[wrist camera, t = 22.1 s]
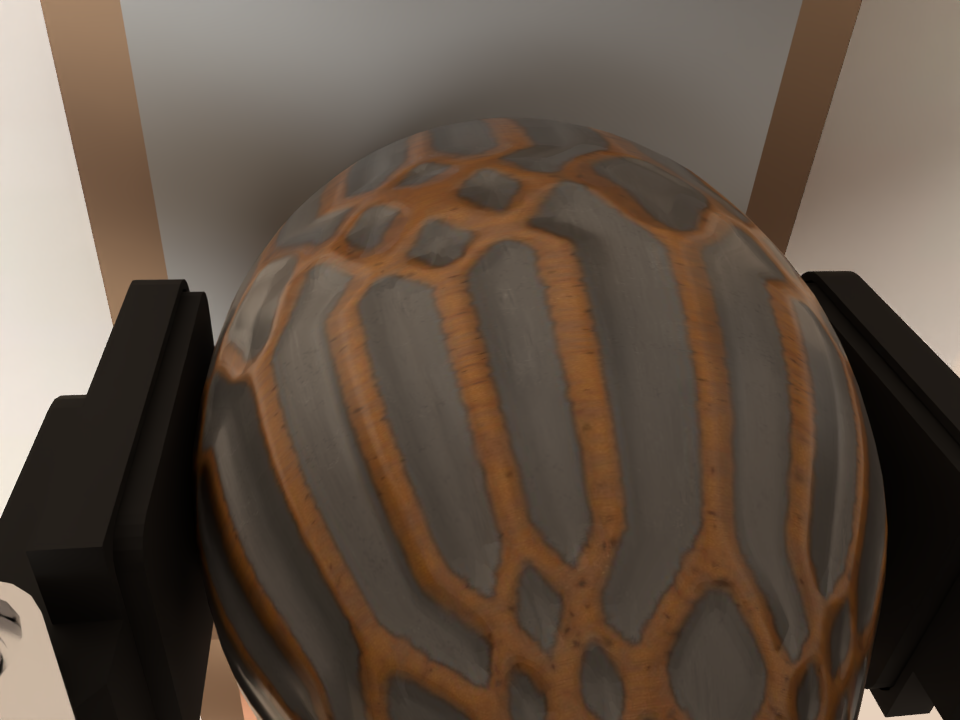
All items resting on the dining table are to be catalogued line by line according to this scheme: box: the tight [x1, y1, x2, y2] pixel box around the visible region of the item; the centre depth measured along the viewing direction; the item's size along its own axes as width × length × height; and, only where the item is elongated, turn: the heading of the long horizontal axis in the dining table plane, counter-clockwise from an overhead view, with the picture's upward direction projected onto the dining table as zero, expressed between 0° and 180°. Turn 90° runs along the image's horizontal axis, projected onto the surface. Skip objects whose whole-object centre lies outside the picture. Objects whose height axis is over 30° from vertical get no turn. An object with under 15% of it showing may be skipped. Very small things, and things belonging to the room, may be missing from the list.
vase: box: [192, 117, 888, 720], centre depth 9 cm, size 7×7×9 cm
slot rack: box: [40, 0, 862, 720], centre depth 16 cm, size 23×11×4 cm, turn 176°
